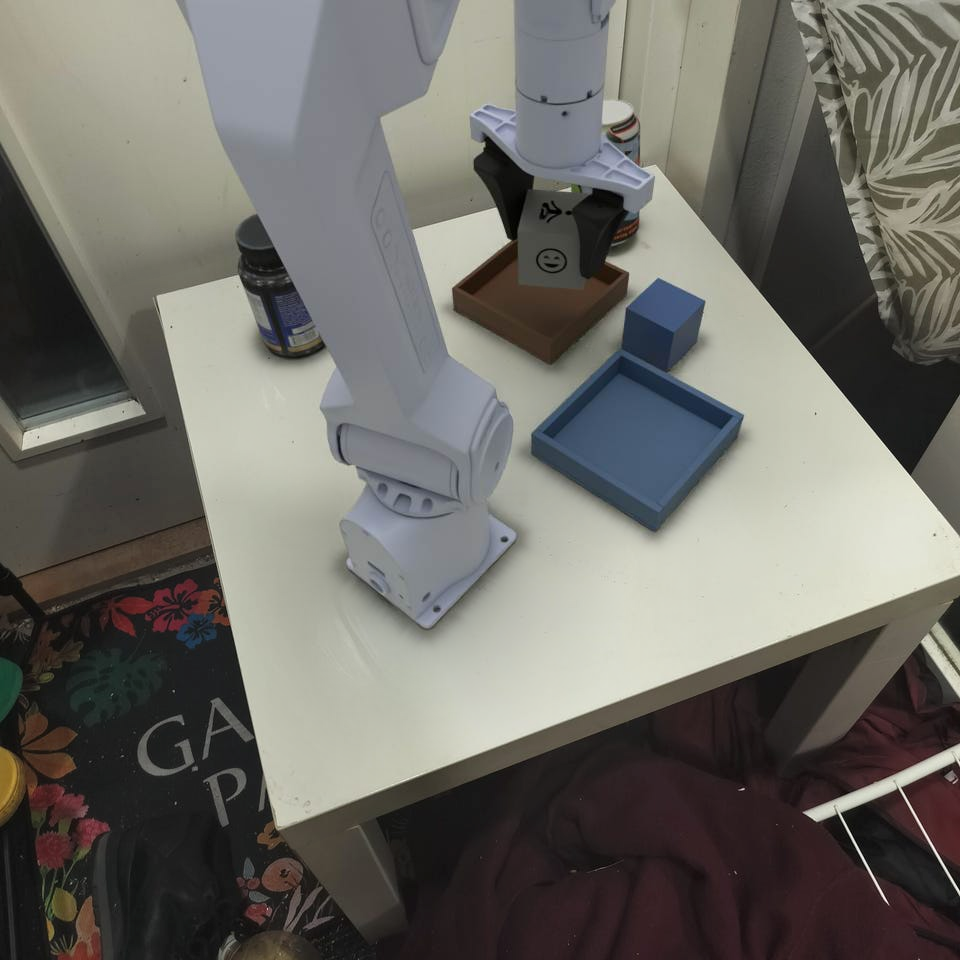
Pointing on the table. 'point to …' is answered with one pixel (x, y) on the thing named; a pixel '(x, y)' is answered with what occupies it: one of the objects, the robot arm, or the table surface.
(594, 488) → the blue tray
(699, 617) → the table surface
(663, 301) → the blue block
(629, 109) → the beverage can
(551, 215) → the dice cube
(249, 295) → the pill bottle
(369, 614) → the table surface
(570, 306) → the walnut tray
